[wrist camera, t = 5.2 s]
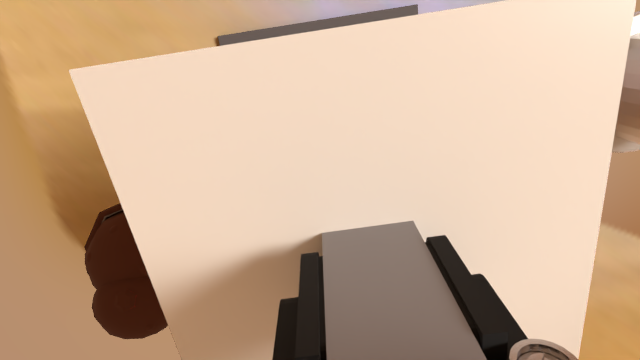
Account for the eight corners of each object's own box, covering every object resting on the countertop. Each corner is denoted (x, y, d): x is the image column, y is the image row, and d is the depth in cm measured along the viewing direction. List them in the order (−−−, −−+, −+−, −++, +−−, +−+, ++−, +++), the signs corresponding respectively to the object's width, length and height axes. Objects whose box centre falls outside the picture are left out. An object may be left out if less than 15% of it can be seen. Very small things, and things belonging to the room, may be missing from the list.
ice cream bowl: (266, 229, 38) (241, 340, 25) (174, 265, 40) (100, 389, 26) (217, 140, 35) (155, 211, 21) (117, 183, 36) (-4, 276, 22)
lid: (574, -10, 12) (1124, -102, 4) (537, 345, 17) (725, 608, 9) (115, 63, 12) (-245, 116, 4) (224, 383, 18) (154, 658, 10)
